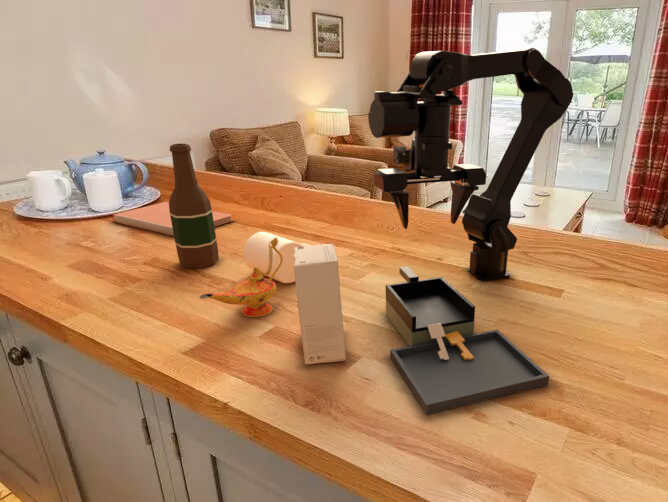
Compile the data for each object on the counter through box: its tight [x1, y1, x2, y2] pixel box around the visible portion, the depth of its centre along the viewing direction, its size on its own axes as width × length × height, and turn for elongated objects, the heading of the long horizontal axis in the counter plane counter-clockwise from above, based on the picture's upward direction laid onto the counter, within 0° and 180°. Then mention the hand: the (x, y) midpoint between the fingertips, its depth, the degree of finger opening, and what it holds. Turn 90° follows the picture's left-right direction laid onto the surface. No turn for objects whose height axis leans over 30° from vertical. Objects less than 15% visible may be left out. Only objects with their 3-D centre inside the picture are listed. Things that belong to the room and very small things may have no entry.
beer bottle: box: [168, 143, 220, 269], centre depth 98 cm, size 8×8×24 cm
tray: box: [389, 328, 551, 416], centre depth 66 cm, size 17×13×1 cm
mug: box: [242, 231, 311, 284], centre depth 96 cm, size 12×10×8 cm
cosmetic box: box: [293, 243, 347, 365], centre depth 68 cm, size 8×6×15 cm
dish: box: [385, 265, 476, 332], centre depth 78 cm, size 17×10×3 cm, turn 21°
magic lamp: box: [199, 237, 283, 318], centre depth 79 cm, size 7×18×11 cm, turn 153°
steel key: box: [427, 323, 449, 361], centre depth 69 cm, size 6×2×1 cm
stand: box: [385, 299, 475, 347], centre depth 77 cm, size 12×10×3 cm
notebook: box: [112, 201, 235, 237], centre depth 129 cm, size 27×17×2 cm, turn 61°
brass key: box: [445, 331, 474, 361], centre depth 70 cm, size 6×2×1 cm, turn 28°
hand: (429, 225), depth 87 cm, fingers open, 9 cm apart
